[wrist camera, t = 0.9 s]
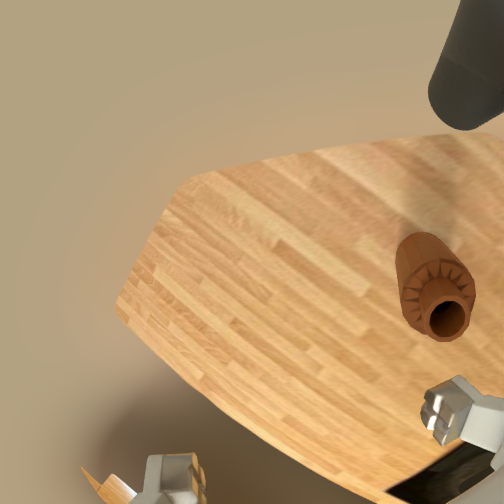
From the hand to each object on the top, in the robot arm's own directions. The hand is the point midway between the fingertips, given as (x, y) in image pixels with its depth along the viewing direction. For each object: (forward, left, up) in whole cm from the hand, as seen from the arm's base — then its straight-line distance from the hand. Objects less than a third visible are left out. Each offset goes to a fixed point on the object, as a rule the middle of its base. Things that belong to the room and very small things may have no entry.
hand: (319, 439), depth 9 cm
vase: (-2, +6, -29) cm, 30 cm away
